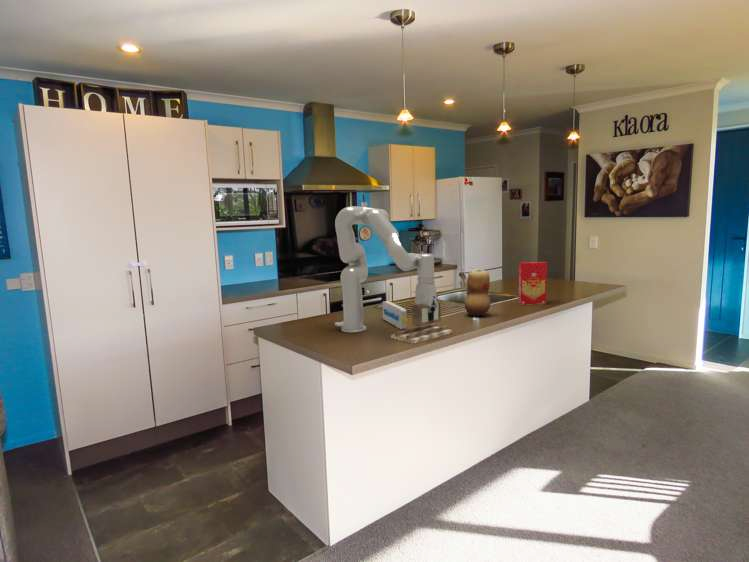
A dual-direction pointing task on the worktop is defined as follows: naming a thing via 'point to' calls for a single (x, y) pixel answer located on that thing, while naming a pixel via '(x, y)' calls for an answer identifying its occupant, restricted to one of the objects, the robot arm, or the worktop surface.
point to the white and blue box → (394, 314)
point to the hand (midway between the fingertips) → (426, 319)
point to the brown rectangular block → (424, 315)
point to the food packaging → (532, 282)
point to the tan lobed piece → (477, 292)
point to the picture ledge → (421, 333)
